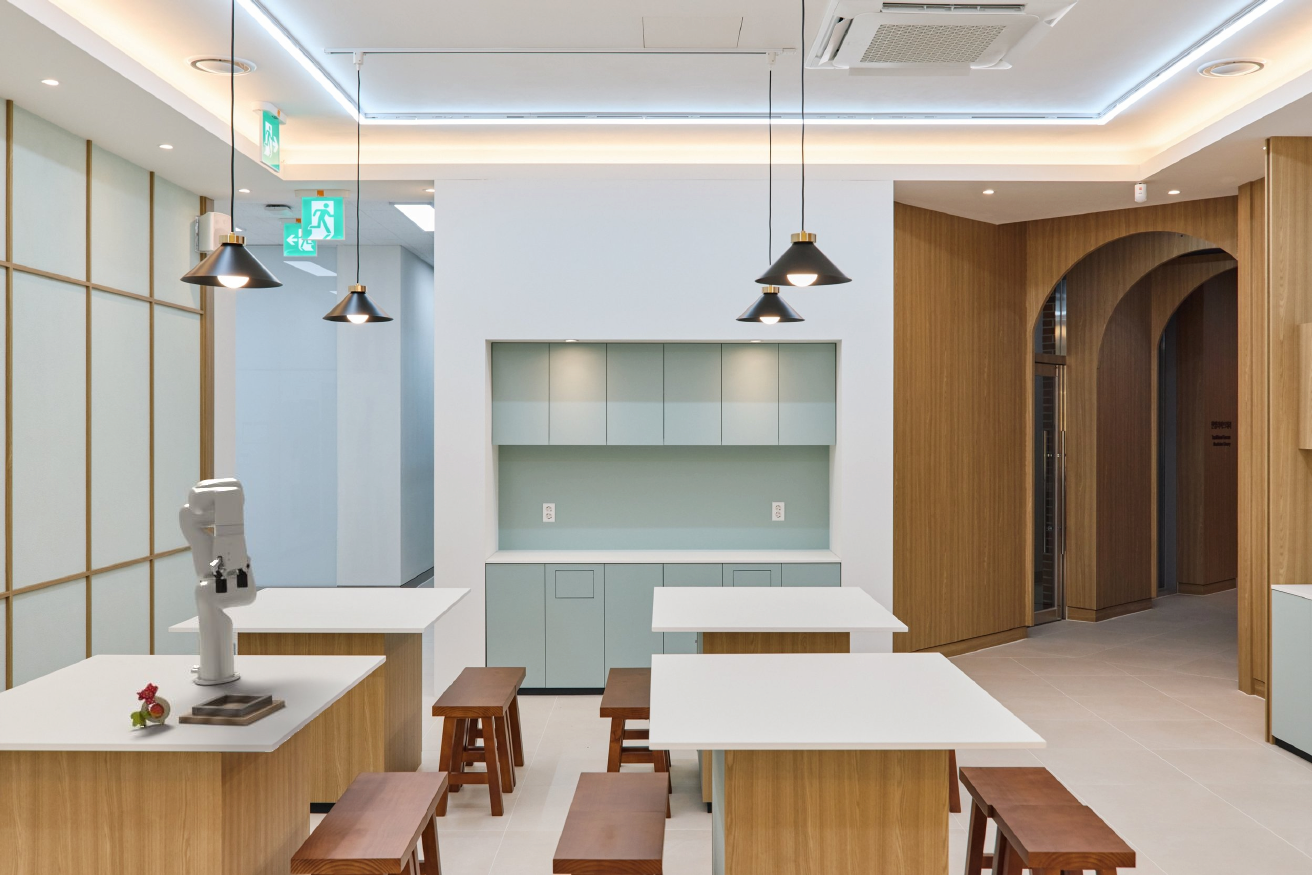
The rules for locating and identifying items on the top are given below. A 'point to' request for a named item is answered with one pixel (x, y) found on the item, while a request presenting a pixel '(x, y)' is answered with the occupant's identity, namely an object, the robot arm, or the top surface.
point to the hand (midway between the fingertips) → (232, 590)
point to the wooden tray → (232, 709)
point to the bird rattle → (157, 710)
